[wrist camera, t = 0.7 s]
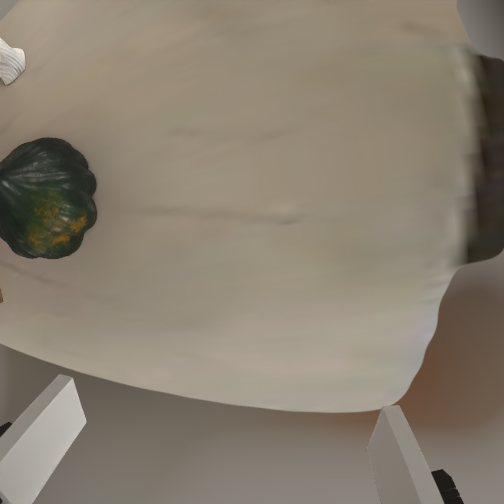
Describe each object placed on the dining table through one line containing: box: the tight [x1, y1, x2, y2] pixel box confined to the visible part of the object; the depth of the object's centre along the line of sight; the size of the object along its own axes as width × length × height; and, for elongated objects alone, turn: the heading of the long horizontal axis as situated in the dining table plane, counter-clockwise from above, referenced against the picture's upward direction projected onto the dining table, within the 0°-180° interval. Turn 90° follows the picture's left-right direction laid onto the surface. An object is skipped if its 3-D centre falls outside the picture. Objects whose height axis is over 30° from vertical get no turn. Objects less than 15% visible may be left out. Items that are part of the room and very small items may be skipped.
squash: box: [0, 138, 97, 259], centre depth 31 cm, size 14×15×15 cm
